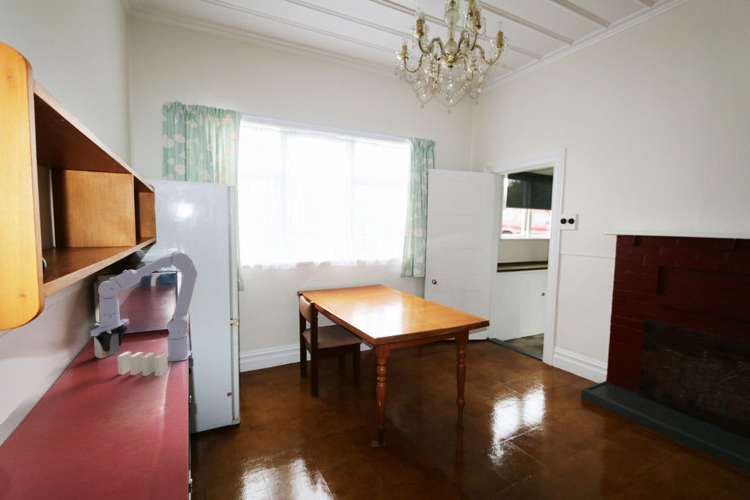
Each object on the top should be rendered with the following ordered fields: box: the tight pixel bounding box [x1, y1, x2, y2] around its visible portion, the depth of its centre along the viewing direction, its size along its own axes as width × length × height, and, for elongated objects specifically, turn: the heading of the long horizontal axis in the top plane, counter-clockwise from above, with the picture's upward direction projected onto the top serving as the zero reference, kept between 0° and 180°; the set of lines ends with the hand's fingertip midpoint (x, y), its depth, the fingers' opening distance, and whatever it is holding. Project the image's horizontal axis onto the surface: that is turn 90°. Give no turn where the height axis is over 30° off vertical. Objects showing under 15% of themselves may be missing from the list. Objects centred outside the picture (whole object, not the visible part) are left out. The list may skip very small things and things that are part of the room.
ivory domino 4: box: [154, 352, 169, 377], centre depth 126 cm, size 2×4×7 cm, turn 175°
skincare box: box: [93, 330, 117, 359], centre depth 142 cm, size 6×4×12 cm
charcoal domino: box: [105, 333, 121, 357], centre depth 127 cm, size 2×4×7 cm, turn 175°
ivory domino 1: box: [116, 351, 133, 376], centre depth 127 cm, size 2×4×7 cm, turn 175°
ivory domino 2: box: [129, 351, 144, 376], centre depth 126 cm, size 2×4×7 cm, turn 175°
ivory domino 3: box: [142, 352, 156, 377], centre depth 126 cm, size 2×4×7 cm, turn 175°
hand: (112, 348), depth 127 cm, fingers closed on charcoal domino, 4 cm apart
